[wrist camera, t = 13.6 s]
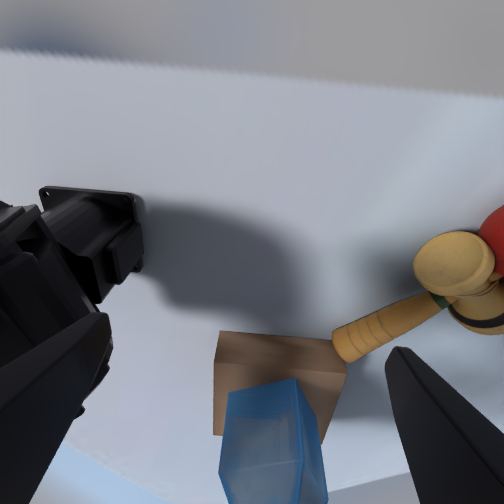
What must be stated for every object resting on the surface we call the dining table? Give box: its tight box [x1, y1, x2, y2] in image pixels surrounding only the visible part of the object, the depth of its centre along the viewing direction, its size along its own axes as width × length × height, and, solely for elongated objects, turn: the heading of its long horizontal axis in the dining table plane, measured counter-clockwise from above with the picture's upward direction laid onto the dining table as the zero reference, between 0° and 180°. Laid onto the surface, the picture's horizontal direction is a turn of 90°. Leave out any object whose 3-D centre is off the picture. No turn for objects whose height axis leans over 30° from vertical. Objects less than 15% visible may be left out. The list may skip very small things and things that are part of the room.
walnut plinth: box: [213, 331, 347, 445], centre depth 28 cm, size 11×11×4 cm
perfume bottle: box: [218, 377, 328, 504], centre depth 22 cm, size 6×6×12 cm
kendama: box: [332, 205, 504, 363], centre depth 21 cm, size 8×6×18 cm
